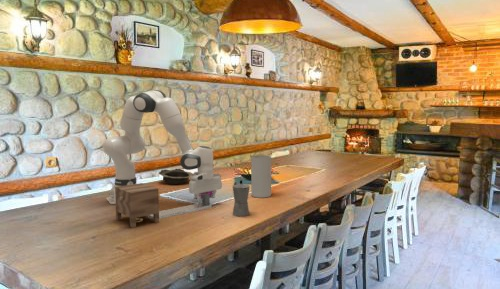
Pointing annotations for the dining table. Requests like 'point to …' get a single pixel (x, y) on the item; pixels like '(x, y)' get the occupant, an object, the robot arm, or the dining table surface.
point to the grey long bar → (186, 208)
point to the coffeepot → (240, 199)
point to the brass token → (139, 219)
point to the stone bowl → (175, 176)
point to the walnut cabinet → (137, 202)
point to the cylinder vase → (261, 176)
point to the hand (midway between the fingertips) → (206, 199)
